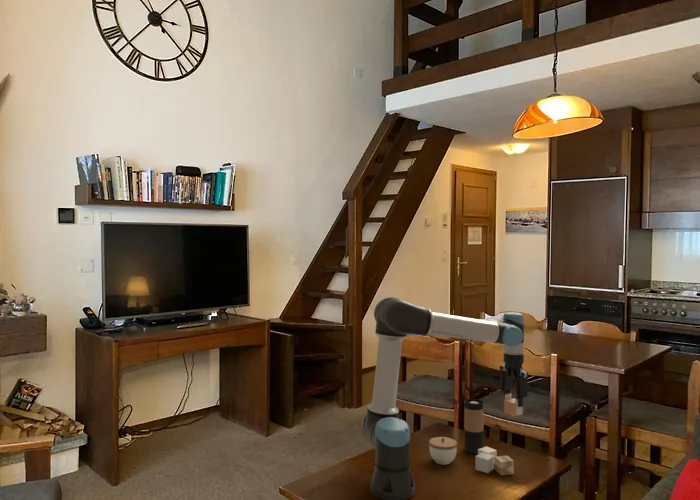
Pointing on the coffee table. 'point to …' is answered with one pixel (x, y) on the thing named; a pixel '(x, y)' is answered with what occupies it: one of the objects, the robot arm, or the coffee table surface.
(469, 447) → the travel mug
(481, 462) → the cube grey
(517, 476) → the coffee table surface
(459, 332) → the robot arm
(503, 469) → the cube maple
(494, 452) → the cube cream
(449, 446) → the lidded jar
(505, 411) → the cube terracotta
